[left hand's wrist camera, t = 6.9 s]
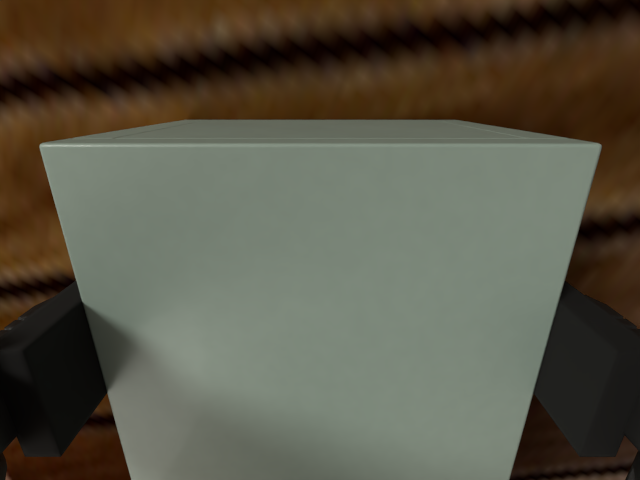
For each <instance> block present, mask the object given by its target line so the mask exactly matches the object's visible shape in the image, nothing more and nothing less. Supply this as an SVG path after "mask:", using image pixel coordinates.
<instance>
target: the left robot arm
mask: <svg viewBox="0 0 640 480" xmlns="http://www.w3.org/2000/svg"><path fill="white" fill-rule="evenodd" d="M636 327H637V326H635V325H634V324H633V323H631V322H630V321H628V320H627V319H623V316H621V315H620V314H619V313H617V312H616V311H615V310H613V309H612V308H610V307H609V306H608V305H606V304H604V303H602V302H599V301H597V300H595V299H593V298H591V297H589V296H587V295H583V294H582V293H580V292H579V291H578V290H576V289H575V288H574V287H572V286H571V285H570V284H568V283H567V282H566V281H564V285H563V289H562V292H561V296H560V299H559V303H558V307H557V310H556V314H555V317H554V321H553V325H552V328H551V332H550V335H549V339H548V342H547V346H546V350H545V353H544V357H543V360H542V364H541V368H540V371H539V375H538V378H537V382H536V386H535V389H534V394H535V396H536V397H537V398H538V400H539V401H540V403H541V404H542V405H543V407H544V408H545V409H546V411H547V412H548V414H549V415H550V416H551V418H552V419H553V421H554V422H555V423H556V425H557V426H558V427H559V429H560V430H561V432H562V433H563V434H564V436H565V437H566V438H567V440H568V441H569V443H570V444H571V445H572V447H573V448H574V450H575V451H576V452H577V454H578V455H579V456H580V457H615V456H616V454H617V452H618V449H619V447H620V444H621V442H622V440H623V437H624V435H625V436H626V437H627V438H628V439H629V440H630V441H631V442H632V444H633V445H634V446H635V447H636V448H637V449H638V452H637V455H636V457H635V459H634V461H633V464H632V466H631V468H630V470H629V473H628V475H627V477H626V479H625V480H640V329H637V328H636ZM106 393H107V389H106V386H105V382H104V379H103V375H102V371H101V368H100V364H99V361H98V357H97V353H96V350H95V346H94V342H93V339H92V335H91V332H90V328H89V324H88V321H87V317H86V313H85V310H84V306H83V303H82V299H81V295H80V292H79V288H78V285H77V281H75V282H73V283H72V284H71V285H69V286H68V287H67V288H65V289H64V290H63V291H61V292H60V293H59V294H57V295H56V296H55V297H53V298H51V299H48V300H46V301H44V302H42V303H40V304H38V305H36V306H34V307H32V308H31V309H30V310H28V311H27V312H26V313H24V314H23V315H21V316H20V317H19V318H18V320H15V321H13V322H12V323H10V324H9V325H8V326H6V327H5V329H4V330H1V331H0V480H5V477H6V471H7V464H6V459H5V457H4V455H3V451H4V450H5V448H6V447H7V446H8V445H9V444H10V443H11V442H12V441H13V440H14V438H15V437H16V436H17V438H18V441H19V443H20V445H21V448H22V450H23V453H24V455H25V457H61V456H62V454H63V453H64V451H65V450H66V449H67V447H68V446H69V445H70V443H71V442H72V440H73V439H74V438H75V436H76V435H77V434H78V432H79V431H80V429H81V428H82V427H83V425H84V424H85V422H86V421H87V420H88V418H89V417H90V416H91V414H92V413H93V411H94V410H95V409H96V407H97V406H98V405H99V403H100V402H101V400H102V399H103V398H104V396H105V395H106Z"/></svg>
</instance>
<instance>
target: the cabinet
mask: <svg viewBox="0 0 640 480" xmlns="http://www.w3.org/2000/svg"><path fill="white" fill-rule="evenodd" d="M601 148H602V146H601V144H599V143H594V142H588V141H582V140H576V139H569V138H564V137H558V136H552V135H546V134H540V133H533V132H527V131H521V130H515V129H509V128H503V127H496V126H490V125H484V124H478V123H472V122H466V121H459V120H182V121H175V122H169V123H163V124H156V125H150V126H144V127H138V128H132V129H125V130H119V131H113V132H107V133H101V134H95V135H88V136H82V137H76V138H73V139H64V140H58V141H52V142H45V143H42V144H40V151H41V154H42V158H43V162H44V165H45V169H46V172H47V176H48V180H49V183H50V187H51V191H52V194H53V198H54V201H55V205H56V209H57V212H58V216H59V219H60V223H61V227H62V230H63V234H64V238H65V241H66V245H67V248H68V252H69V256H70V259H71V263H72V266H73V270H74V274H75V277H76V281H77V285H78V288H79V292H80V295H81V299H82V303H83V306H84V310H85V313H86V317H87V321H88V324H89V328H90V332H91V335H92V339H93V342H94V346H95V350H96V353H97V357H98V361H99V364H100V368H101V371H102V375H103V379H104V382H105V386H106V389H107V393H108V397H109V400H110V404H111V408H112V411H113V415H114V418H115V422H116V426H117V429H118V433H119V436H120V440H121V444H122V447H123V451H124V455H125V458H126V462H127V465H128V469H129V473H130V476H131V480H509V479H510V475H511V472H512V468H513V465H514V461H515V457H516V454H517V450H518V447H519V443H520V439H521V436H522V432H523V429H524V425H525V422H526V418H527V414H528V411H529V407H530V404H531V400H532V396H533V393H534V389H535V386H536V382H537V378H538V375H539V371H540V368H541V364H542V360H543V357H544V353H545V350H546V346H547V342H548V339H549V335H550V332H551V328H552V325H553V321H554V317H555V314H556V310H557V307H558V303H559V299H560V296H561V292H562V289H563V285H564V281H565V278H566V274H567V271H568V267H569V263H570V260H571V256H572V253H573V249H574V245H575V242H576V238H577V235H578V231H579V228H580V224H581V220H582V217H583V213H584V210H585V206H586V202H587V199H588V195H589V192H590V188H591V184H592V181H593V177H594V174H595V170H596V166H597V163H598V159H599V156H600V152H601Z"/></svg>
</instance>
